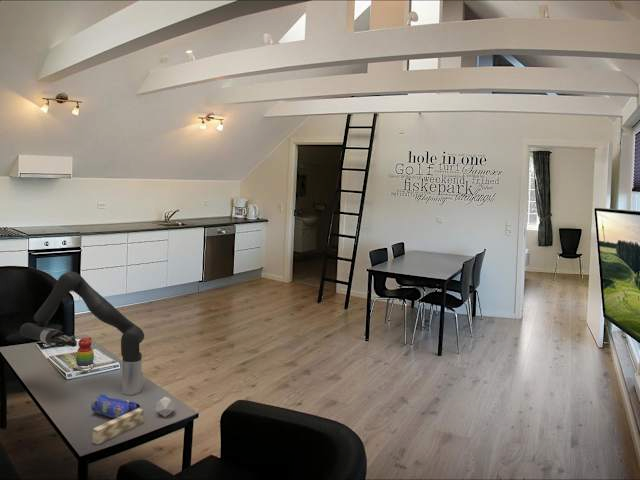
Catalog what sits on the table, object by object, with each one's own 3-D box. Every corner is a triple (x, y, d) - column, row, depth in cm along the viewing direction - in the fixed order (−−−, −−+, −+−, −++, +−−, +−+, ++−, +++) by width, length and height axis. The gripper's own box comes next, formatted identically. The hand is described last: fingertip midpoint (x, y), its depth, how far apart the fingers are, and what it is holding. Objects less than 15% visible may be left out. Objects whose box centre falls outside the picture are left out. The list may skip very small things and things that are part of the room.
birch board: (138, 420, 234) (138, 408, 233) (143, 422, 233) (143, 409, 232) (92, 442, 213) (92, 428, 212) (97, 444, 212) (97, 430, 211)
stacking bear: (90, 363, 298) (91, 333, 296) (97, 368, 291) (98, 338, 289) (71, 367, 290) (71, 337, 288) (78, 372, 283) (78, 341, 281)
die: (162, 410, 247) (151, 398, 242) (178, 402, 247) (168, 390, 242) (162, 423, 240) (151, 411, 235) (178, 415, 241) (168, 402, 235)
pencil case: (140, 418, 237) (141, 398, 235) (127, 426, 228) (128, 406, 227) (103, 408, 244) (103, 389, 243) (89, 415, 236) (89, 395, 235)
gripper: (39, 332, 244) (62, 340, 236) (64, 326, 256) (87, 333, 247) (39, 348, 245) (62, 355, 237) (64, 341, 256) (87, 348, 248)
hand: (75, 344), depth 242 cm, fingers closed
